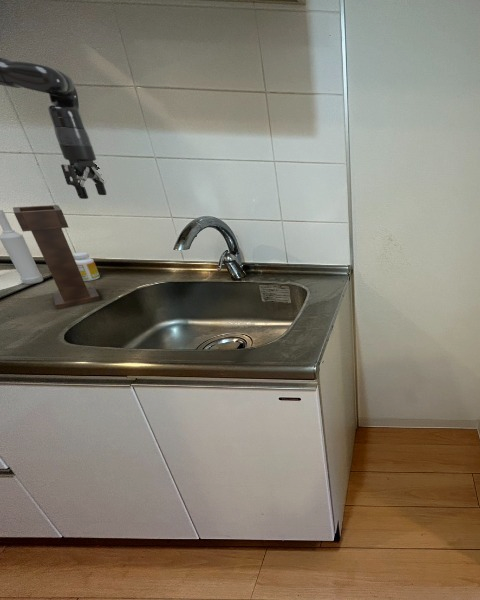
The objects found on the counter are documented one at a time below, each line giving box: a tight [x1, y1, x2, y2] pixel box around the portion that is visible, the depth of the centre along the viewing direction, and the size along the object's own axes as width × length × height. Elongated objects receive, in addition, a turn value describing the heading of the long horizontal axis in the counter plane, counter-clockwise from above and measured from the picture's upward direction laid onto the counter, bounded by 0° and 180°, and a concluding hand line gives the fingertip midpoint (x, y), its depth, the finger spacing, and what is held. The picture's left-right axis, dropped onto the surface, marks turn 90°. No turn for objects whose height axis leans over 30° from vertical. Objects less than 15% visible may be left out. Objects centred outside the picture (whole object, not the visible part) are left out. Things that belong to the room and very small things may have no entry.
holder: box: [12, 204, 101, 310], centre depth 94 cm, size 10×10×29 cm
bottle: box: [0, 209, 44, 285], centre depth 104 cm, size 5×5×25 cm
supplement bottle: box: [72, 251, 101, 282], centre depth 113 cm, size 5×5×10 cm
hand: (93, 196), depth 105 cm, fingers open, 8 cm apart
